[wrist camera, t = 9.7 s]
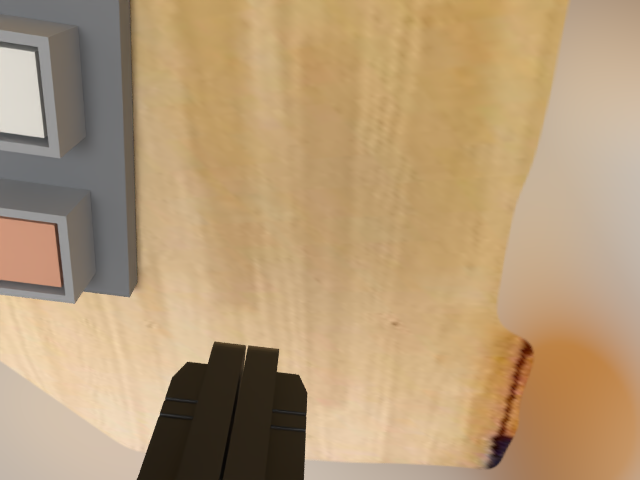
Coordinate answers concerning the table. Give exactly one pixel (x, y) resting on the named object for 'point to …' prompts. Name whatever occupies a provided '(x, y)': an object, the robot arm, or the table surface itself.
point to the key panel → (76, 144)
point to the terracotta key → (30, 252)
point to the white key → (21, 91)
